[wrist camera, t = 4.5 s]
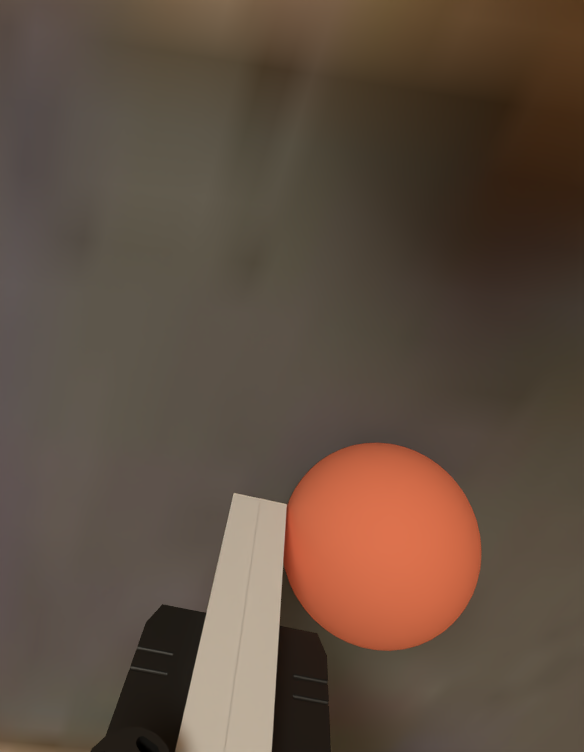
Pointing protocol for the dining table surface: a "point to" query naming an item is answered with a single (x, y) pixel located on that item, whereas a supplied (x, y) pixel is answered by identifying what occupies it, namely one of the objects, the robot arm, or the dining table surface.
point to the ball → (381, 546)
